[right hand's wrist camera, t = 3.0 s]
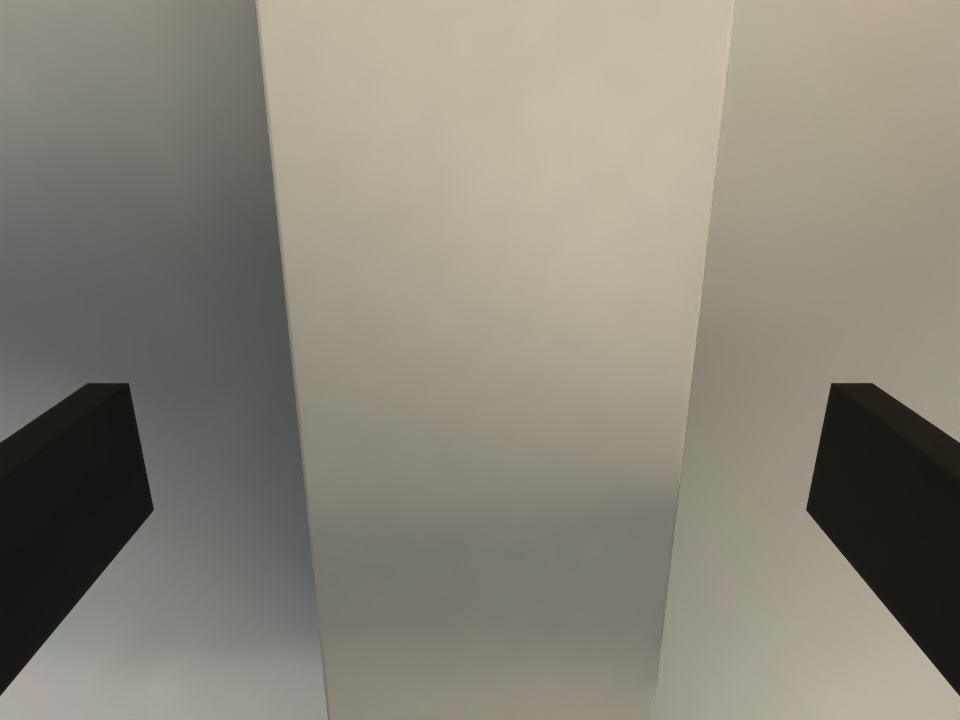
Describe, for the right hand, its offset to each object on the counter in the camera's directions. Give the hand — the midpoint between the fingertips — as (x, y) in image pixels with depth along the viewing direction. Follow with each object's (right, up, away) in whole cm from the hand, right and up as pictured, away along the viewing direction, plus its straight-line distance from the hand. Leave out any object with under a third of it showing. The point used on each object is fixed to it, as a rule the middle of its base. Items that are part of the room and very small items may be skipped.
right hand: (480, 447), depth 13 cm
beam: (0, +18, -2) cm, 18 cm away
